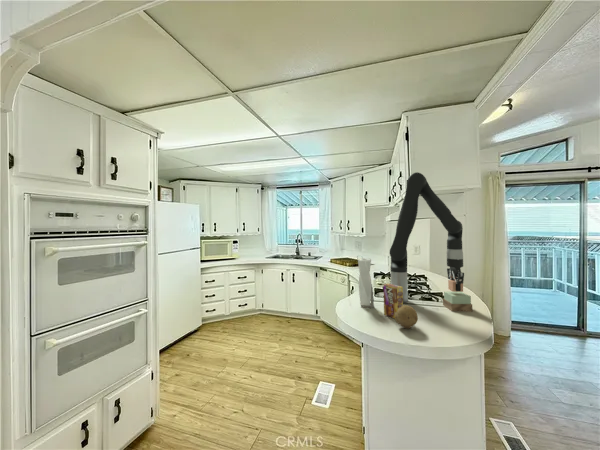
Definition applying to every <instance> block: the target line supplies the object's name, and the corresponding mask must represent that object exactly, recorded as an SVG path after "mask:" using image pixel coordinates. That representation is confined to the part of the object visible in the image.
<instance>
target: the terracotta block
mask: <svg viewBox="0 0 600 450" xmlns="http://www.w3.org/2000/svg"><path fill="white" fill-rule="evenodd" d="M447 281H448V288H447V289H448V290H449V291H450V292H463V293H464V283H463V284H461V291H456V283H455V280H450V279H447Z"/></svg>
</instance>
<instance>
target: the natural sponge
mask: <svg viewBox="0 0 600 450" xmlns="http://www.w3.org/2000/svg"><path fill="white" fill-rule="evenodd" d="M418 316H419V315H418V313H417V311H416V309H415V308H413V307H412V306H411V305H408V304H406V305H404V304H403V306H401V307H400V308H399V309H398V311H397V313H396V315H395V318H394V320H395V322H396V323H397V324H398V325H400V326H401V327H402V328H404V329H407V330H409V329H411V328H412V327H413V326H415V325H416V324H417V323H418V321H419V320H418V319H419V318H418Z"/></svg>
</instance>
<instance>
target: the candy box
mask: <svg viewBox="0 0 600 450" xmlns="http://www.w3.org/2000/svg"><path fill="white" fill-rule="evenodd" d="M403 305H404V302H403V287H401V286H397V285H393V284H390V283H383V315H384V316H387V317H390V318H393V319H395V315H396V313H397V311H398V309H399V308H400V307H401V306H403Z"/></svg>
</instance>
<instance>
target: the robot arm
mask: <svg viewBox="0 0 600 450" xmlns="http://www.w3.org/2000/svg"><path fill="white" fill-rule="evenodd" d="M419 197H421V198H423V200H424V201H425V202H426V204H427V205H428V207H429V209H430V210H431V212H432V214H434V215H435V216H436V218H437V219H438V220H439V221H440V223H441V224H442V226H443V227H444V229H445V230H446V231H447V240H446V267H447V268H446V272H447V280H455V283H456V291H461V284H463V285H464V279H465V273H464V272H462V269H461V268H463V267H464V252H463V251H464V250H463V224H462V222H461V221H459V220H457V218H456V217H455V216H454V215H453V214H452V212H451V210H450V208H449V207H448V206H447V204H446V203H444V201H443V200H442V199H441V198H440V197H439V196H438V195H437V194H436V193H435V191H433V189H432V188H431V185H430V184H429V182H428V181H427V178H426V177H425V175H424V174H422V173H421V172H413V173H411V174H410V175H409V177H408V178H407V183H406V189H405V195H404V198H403V201H402V205H401V208H400V210H399V211H400V212H399V214H398V215H399V216H398V218H397V219H398V220H397V223H396V224H397V225H396V230H395V235H394V238H393V242H392V243H391V246H390V249H389V256H390V283H389V284H393V285H397V286H401V287H403V303H407V302H409V294H408V293H409V291H408V286H409V285H408V284H409V283H408V251H407V249H408V242H409V238H410V236H411V234H412V231H413V229H414V226H415V223H416V220H417V216H418V210H419V209H418V208H419V199H420V198H419Z"/></svg>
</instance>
